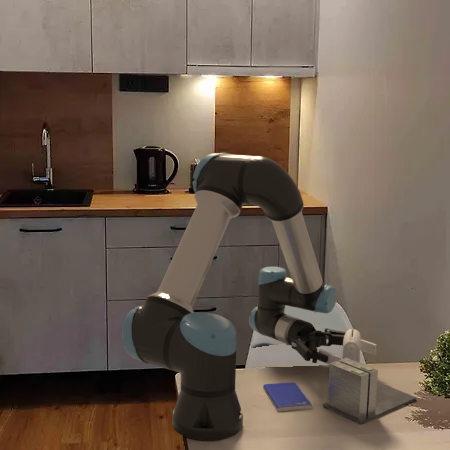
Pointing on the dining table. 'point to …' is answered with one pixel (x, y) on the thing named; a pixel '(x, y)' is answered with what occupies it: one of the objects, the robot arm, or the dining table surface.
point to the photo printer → (352, 345)
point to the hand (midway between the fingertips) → (358, 356)
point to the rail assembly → (361, 392)
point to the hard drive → (287, 396)
